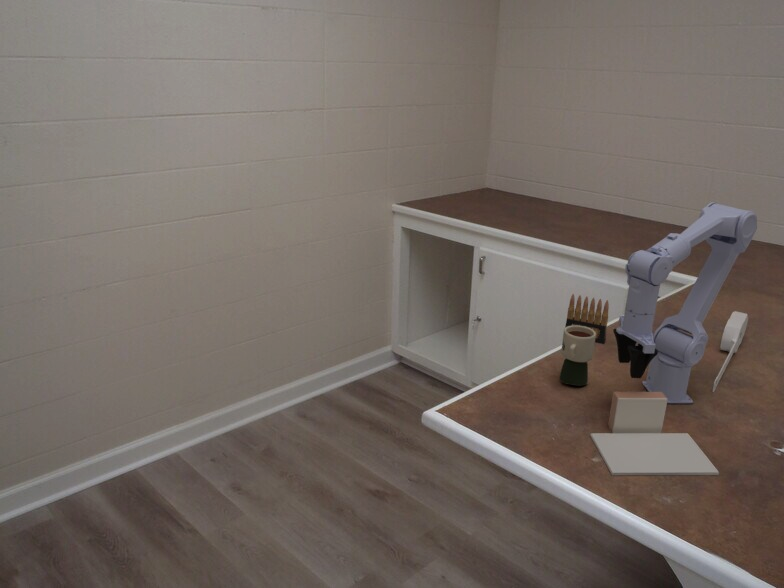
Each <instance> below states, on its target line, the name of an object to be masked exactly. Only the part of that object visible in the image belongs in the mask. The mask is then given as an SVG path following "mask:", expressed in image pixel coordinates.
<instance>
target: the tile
mask: <svg viewBox="0 0 784 588" xmlns="http://www.w3.org/2000/svg"><path fill="white" fill-rule="evenodd" d="M667 401H668V399H667V398H666V396H665V395H664V394H663V393H662V392H649V391H613V393H612V399H611V405H610V409H609V410H610V411H609V416H608V417H609V418H608V424H607V427H608V428H609V429H610V431H611V433H662V431H663V426H664V420H665V415H666V411H667V404H668V403H667Z"/></svg>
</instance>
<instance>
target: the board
mask: <svg viewBox="0 0 784 588" xmlns="http://www.w3.org/2000/svg"><path fill="white" fill-rule="evenodd" d="M589 435H590V438H591V440H592V442H593V443H594V445H595V447H596V449H597V450H598V452H599V454H600V456H601V458H602V460H603V461H604V463H605V466H606V467H607V468H608V470H609V472H610V474H611V476H719V475H720V472H719V470H718V469H717V468H716V467H715V465H714V464H713V463H712V462H711V460H710V459H709V458H708V456H707V455H706V454H705V453H704V452H703V450H702V449H701V447H699V445H698V444H697V443H696V441H694V439H693V438H692V437H691V436H690V434H689V433H687V432H685V433H684V432H682V433H680V432H679V433H678V432H677V433H676V432H675V433H674V432H673V433H671V432H670V433H669V432H667V433H666V432H665V433H664V432H661V433H612V432H611V433H608V432H604V433H601V432H600V433H599V432H597V433H596V432H595V433H594V432H593V433H590V434H589Z"/></svg>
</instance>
